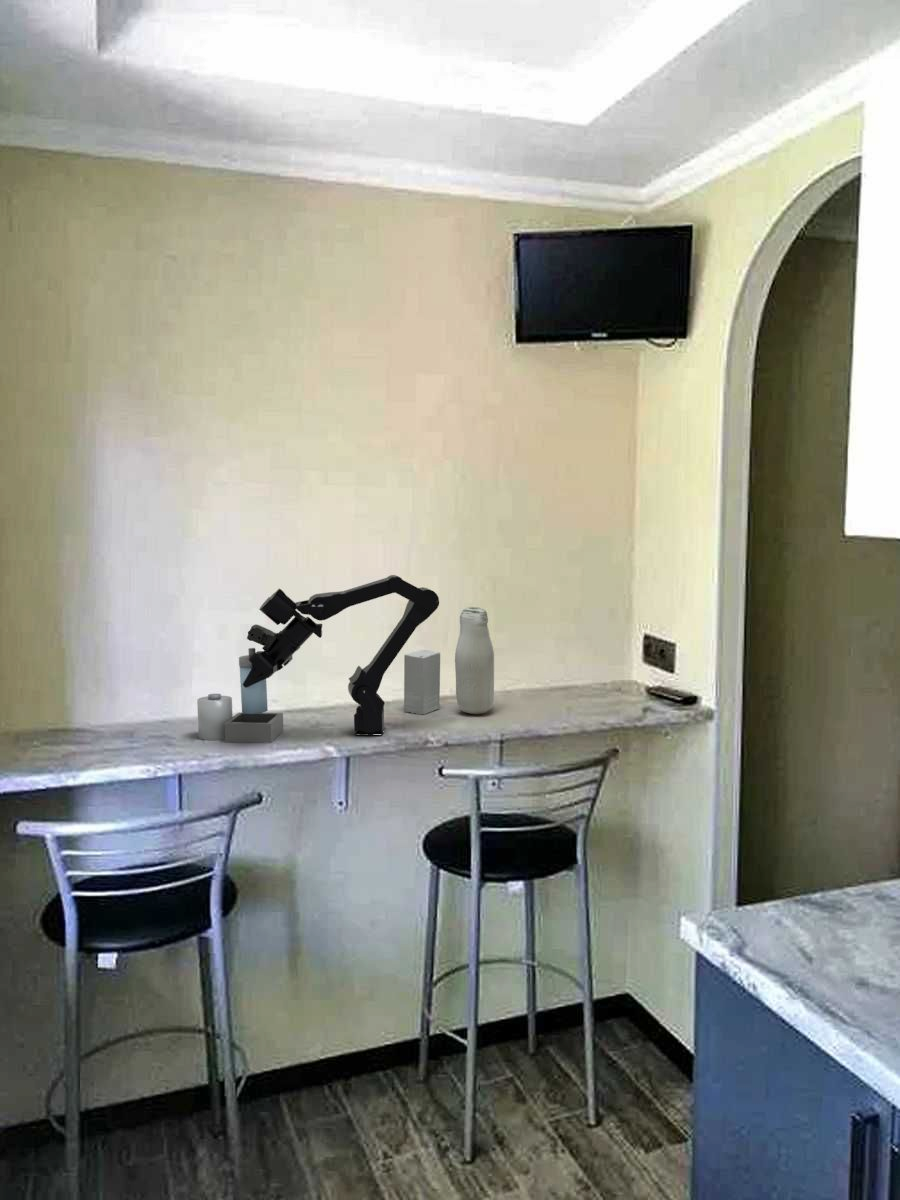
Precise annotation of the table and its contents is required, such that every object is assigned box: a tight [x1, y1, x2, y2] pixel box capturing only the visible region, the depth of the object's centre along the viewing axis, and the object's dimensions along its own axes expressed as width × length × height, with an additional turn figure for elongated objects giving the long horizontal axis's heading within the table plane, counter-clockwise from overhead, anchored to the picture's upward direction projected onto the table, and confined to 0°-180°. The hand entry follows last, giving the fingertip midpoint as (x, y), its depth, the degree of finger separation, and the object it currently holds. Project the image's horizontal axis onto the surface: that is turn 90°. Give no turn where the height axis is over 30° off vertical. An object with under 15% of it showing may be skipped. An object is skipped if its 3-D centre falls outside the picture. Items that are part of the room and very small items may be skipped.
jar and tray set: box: [197, 693, 284, 743], centre depth 226 cm, size 19×11×10 cm, turn 85°
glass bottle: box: [454, 606, 495, 715], centre depth 247 cm, size 10×10×28 cm
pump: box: [238, 647, 269, 714], centre depth 225 cm, size 6×6×15 cm
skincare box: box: [403, 649, 441, 715], centre depth 251 cm, size 8×7×16 cm
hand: (248, 683), depth 225 cm, fingers closed on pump, 6 cm apart
